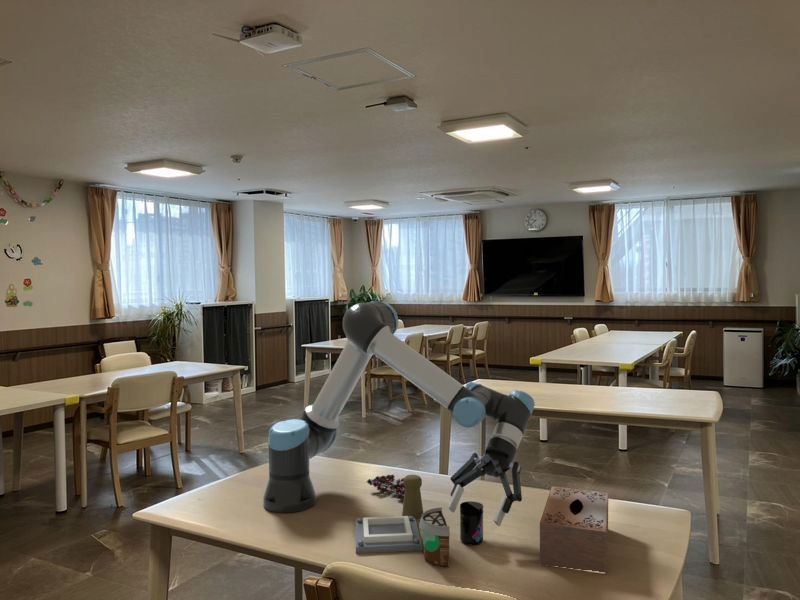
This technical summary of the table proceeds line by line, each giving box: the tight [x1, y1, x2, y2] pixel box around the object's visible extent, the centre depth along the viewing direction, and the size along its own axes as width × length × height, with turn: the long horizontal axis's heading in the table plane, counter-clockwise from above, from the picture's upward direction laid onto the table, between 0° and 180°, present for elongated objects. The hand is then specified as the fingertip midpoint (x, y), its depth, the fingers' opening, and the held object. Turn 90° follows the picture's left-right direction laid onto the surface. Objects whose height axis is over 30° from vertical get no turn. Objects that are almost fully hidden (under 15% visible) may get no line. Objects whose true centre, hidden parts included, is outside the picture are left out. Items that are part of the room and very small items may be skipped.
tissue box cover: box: [539, 485, 609, 573], centre depth 150 cm, size 26×14×10 cm, turn 160°
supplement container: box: [459, 501, 484, 546], centre depth 153 cm, size 6×6×9 cm
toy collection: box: [365, 474, 405, 500], centre depth 189 cm, size 15×14×5 cm
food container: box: [419, 507, 451, 569], centre depth 144 cm, size 12×6×10 cm, turn 5°
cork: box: [401, 474, 424, 520], centre depth 170 cm, size 6×6×11 cm
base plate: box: [354, 515, 423, 554], centre depth 156 cm, size 16×16×3 cm
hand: (472, 516), depth 153 cm, fingers open, 13 cm apart
